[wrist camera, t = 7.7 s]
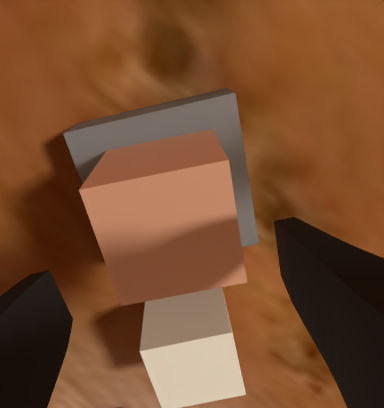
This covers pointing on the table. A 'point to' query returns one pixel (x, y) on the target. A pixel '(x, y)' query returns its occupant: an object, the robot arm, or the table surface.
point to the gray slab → (169, 127)
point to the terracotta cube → (166, 217)
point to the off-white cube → (190, 349)
